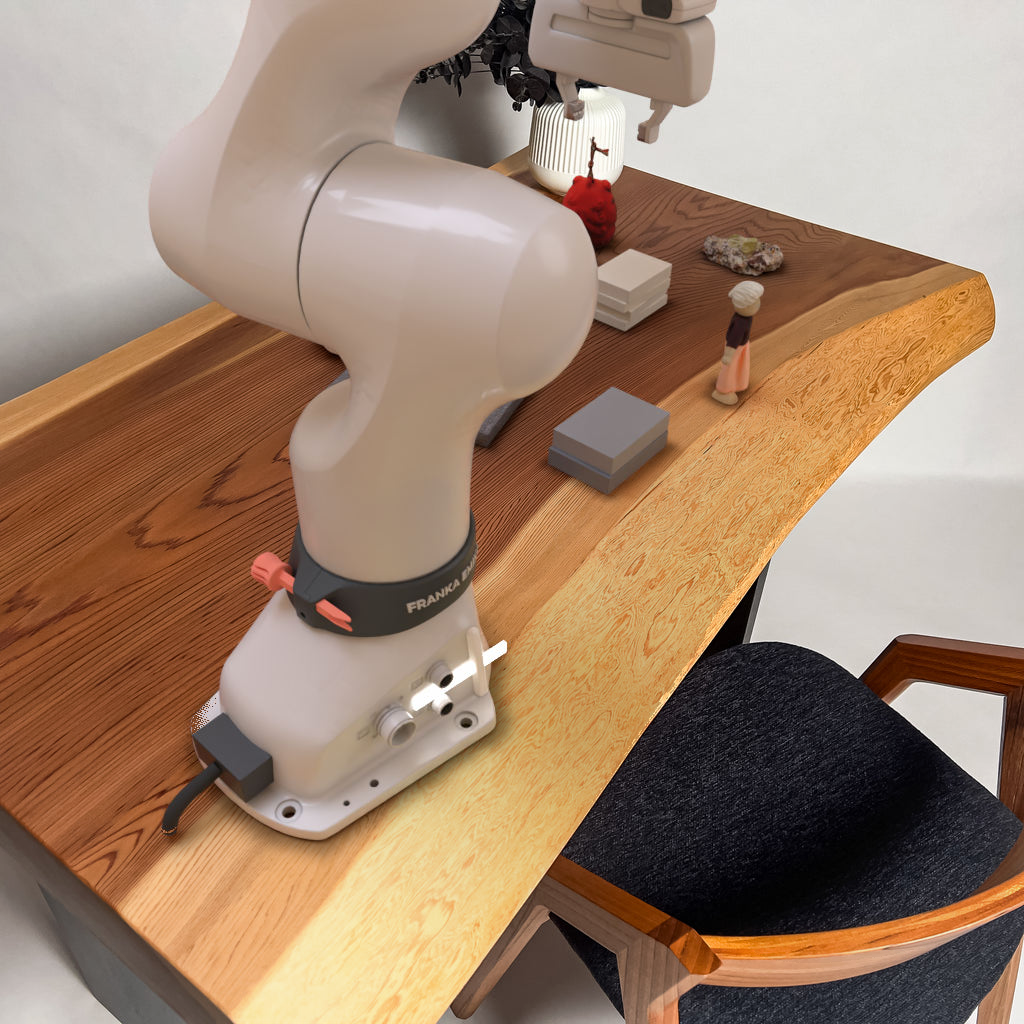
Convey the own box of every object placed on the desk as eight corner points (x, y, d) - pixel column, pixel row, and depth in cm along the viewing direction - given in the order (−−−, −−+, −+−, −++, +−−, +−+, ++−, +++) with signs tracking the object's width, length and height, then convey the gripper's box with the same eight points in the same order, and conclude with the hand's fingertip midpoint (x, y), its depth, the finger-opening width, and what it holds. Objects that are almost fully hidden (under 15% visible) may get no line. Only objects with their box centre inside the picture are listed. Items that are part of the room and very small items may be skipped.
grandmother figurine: (745, 412, 99) (771, 302, 91) (708, 407, 100) (730, 297, 91) (746, 373, 105) (771, 266, 97) (711, 368, 105) (732, 261, 97)
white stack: (624, 333, 111) (628, 305, 108) (578, 314, 114) (580, 286, 111) (670, 302, 116) (674, 275, 114) (625, 285, 120) (628, 258, 117)
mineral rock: (793, 239, 126) (782, 246, 119) (785, 272, 127) (774, 281, 121) (713, 224, 129) (698, 230, 122) (707, 257, 131) (691, 265, 124)
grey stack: (607, 495, 88) (611, 461, 86) (547, 464, 92) (549, 430, 89) (665, 446, 94) (671, 413, 92) (607, 418, 98) (611, 385, 95)
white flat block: (628, 303, 109) (629, 291, 107) (585, 286, 111) (586, 273, 110) (670, 276, 114) (672, 263, 113) (628, 260, 117) (630, 248, 116)
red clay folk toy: (617, 236, 130) (630, 123, 120) (608, 258, 125) (620, 142, 115) (562, 228, 131) (570, 116, 121) (551, 250, 126) (558, 135, 116)
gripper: (518, -33, 94) (513, 112, 103) (697, 7, 85) (674, 163, 94) (557, -42, 98) (549, 99, 107) (733, -5, 89) (708, 146, 97)
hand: (609, 129), depth 100 cm, fingers open, 8 cm apart
